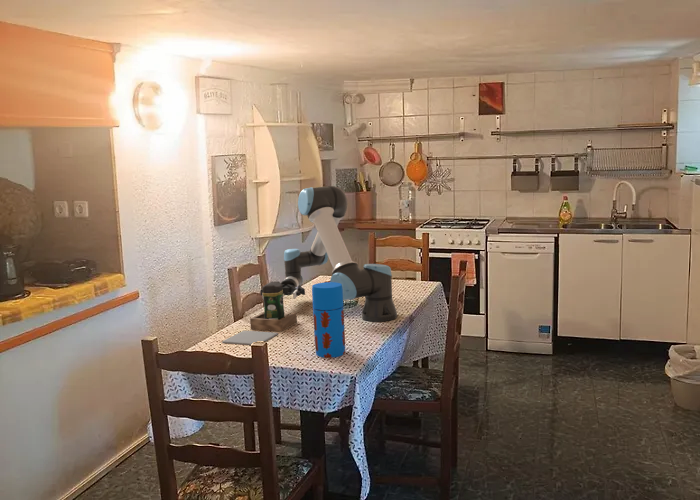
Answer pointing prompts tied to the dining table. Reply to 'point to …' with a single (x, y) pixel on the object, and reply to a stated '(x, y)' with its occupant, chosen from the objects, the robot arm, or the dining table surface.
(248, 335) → the slate mat
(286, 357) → the dining table surface
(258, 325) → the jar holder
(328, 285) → the thermos
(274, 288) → the coffee jar
